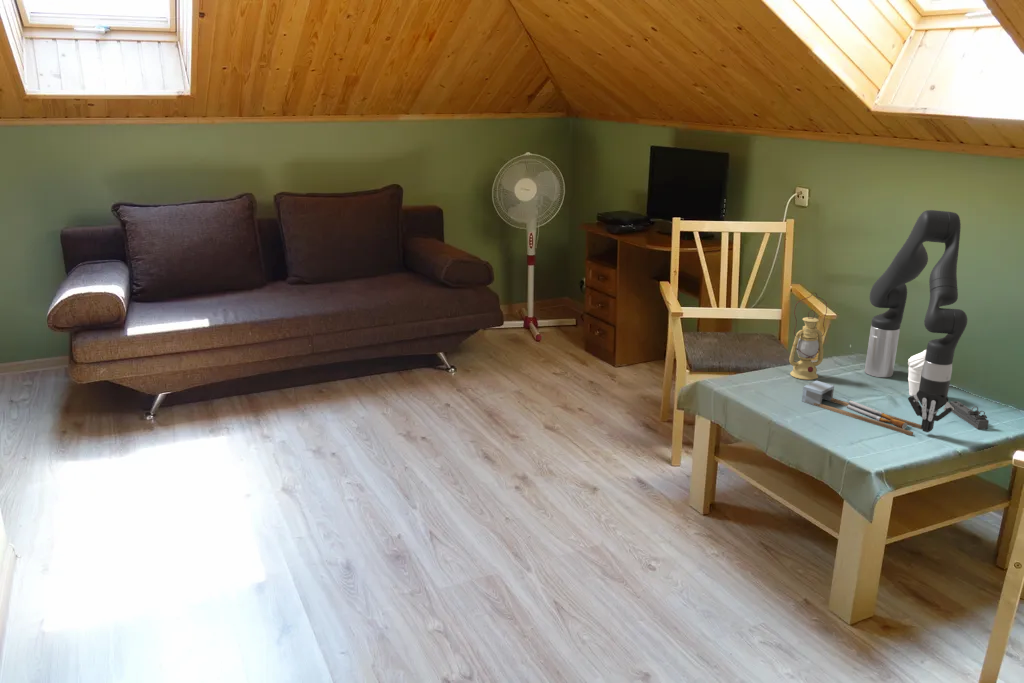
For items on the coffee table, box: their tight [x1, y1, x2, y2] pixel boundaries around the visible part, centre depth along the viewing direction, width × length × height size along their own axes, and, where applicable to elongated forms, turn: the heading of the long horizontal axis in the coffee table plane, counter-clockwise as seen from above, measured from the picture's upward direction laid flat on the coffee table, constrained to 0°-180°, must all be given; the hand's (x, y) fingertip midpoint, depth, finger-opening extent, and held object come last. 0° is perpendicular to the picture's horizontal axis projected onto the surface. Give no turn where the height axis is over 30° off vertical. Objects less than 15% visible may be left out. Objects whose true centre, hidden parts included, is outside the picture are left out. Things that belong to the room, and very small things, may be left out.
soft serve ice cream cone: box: [907, 349, 927, 397], centre depth 266 cm, size 8×8×16 cm
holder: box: [801, 379, 923, 437], centre depth 253 cm, size 8×35×5 cm, turn 41°
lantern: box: [788, 292, 828, 381], centre depth 281 cm, size 12×10×30 cm
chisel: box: [846, 400, 908, 430], centre depth 251 cm, size 19×3×3 cm
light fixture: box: [949, 400, 989, 430], centre depth 250 cm, size 3×15×6 cm, turn 4°
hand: (926, 431), depth 239 cm, fingers closed
